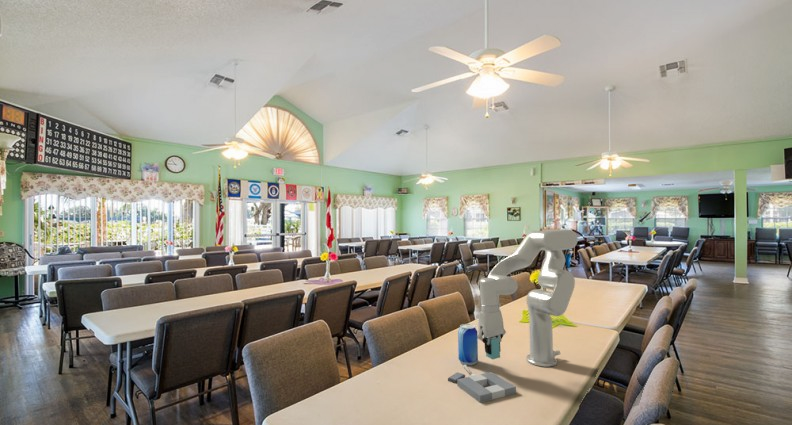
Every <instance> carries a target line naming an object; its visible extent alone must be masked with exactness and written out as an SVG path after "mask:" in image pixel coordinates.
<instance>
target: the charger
mask: <svg viewBox="0 0 792 425" xmlns="http://www.w3.org/2000/svg"><path fill="white" fill-rule="evenodd" d="M486 340H487V339H486ZM490 345H491V354H488V353H486V352H485V355H486V356H485V357H487V358H489V359H491V360H492V361H493V360H495V359H498V358H499V359H500V358H501V344H500V345H499V338H498V337H496V336H493V337H490Z"/></svg>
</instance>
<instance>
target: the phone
mask: <svg viewBox="0 0 792 425" xmlns="http://www.w3.org/2000/svg"><path fill="white" fill-rule="evenodd" d="M461 378H466V374H464V373H461V372H455V373H454V374H452V375H450V376H449V377H448V378H447V381H448V382H450V383H454V384H457V379H461Z"/></svg>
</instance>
